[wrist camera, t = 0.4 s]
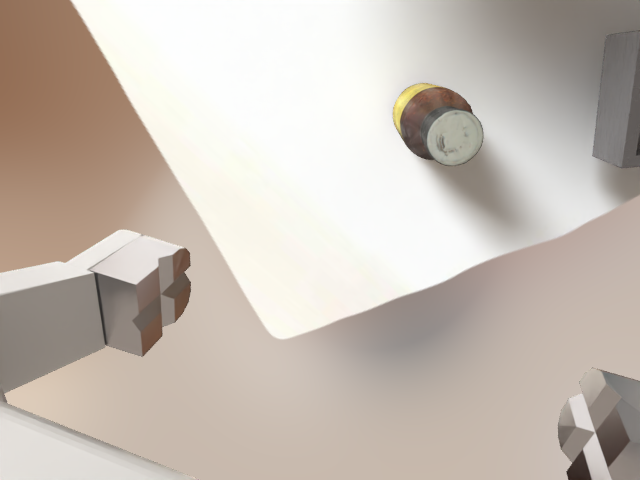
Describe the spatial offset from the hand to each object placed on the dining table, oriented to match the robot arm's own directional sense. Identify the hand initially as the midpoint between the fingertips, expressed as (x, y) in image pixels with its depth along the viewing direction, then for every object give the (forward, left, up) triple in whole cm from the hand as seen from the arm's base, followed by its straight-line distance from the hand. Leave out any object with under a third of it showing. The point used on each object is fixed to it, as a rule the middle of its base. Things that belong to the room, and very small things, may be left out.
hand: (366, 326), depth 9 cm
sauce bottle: (0, +5, -44) cm, 45 cm away
